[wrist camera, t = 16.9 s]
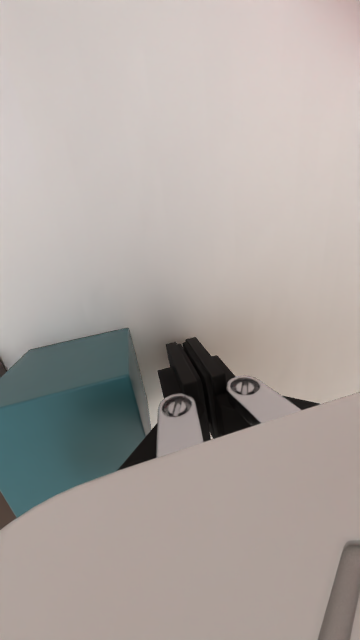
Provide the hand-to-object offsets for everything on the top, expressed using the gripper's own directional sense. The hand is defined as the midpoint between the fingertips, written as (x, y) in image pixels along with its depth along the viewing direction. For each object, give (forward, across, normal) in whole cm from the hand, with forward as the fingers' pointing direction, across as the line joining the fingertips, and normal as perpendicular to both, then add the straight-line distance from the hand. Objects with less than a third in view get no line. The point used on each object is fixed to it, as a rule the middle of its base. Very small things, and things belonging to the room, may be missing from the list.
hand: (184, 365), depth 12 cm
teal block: (+1, +5, 0) cm, 5 cm away
